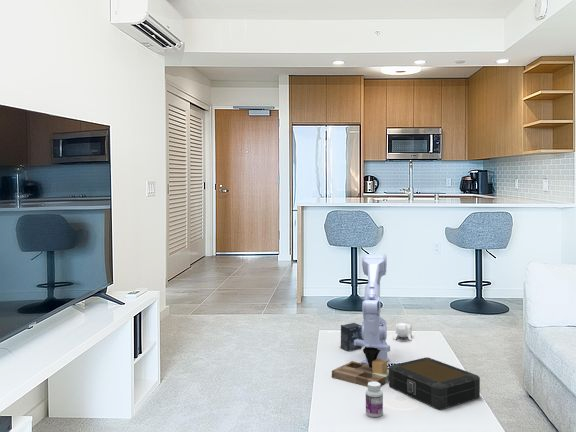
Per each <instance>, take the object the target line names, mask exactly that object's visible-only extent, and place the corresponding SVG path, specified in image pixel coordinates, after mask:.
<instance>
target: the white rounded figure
mask: <svg viewBox="0 0 576 432" xmlns="http://www.w3.org/2000/svg"><path fill="white" fill-rule="evenodd" d="M412 326H413V325H412V324H409V323H407V322H406V323H405V322H400V323H399V322H398V323H396V324H395V332H394V334H393V335H394V336H393V337H392V339H393V340H394V341H396V340H397V338H403V339H404V338H408V341H410V342H412V341H413V340H412V331H413V330H412Z"/></svg>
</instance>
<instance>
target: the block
mask: <svg viewBox="0 0 576 432" xmlns="http://www.w3.org/2000/svg"><path fill="white" fill-rule="evenodd" d="M387 369H388V362H387V361H386V360H382V359H376V360H374V361H372V372H374V373H379V374H383V373H385V372H387Z"/></svg>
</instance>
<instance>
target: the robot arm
mask: <svg viewBox="0 0 576 432" xmlns="http://www.w3.org/2000/svg"><path fill="white" fill-rule="evenodd" d="M361 268H362V272H363V275H365V276H367V281H368V283H367V284H366V285H365V287H364V299H363V300H362V302H361V303H362V304H361V306H362V309H361V310H362V317H363V318H362V319H363V320H362V321H361V323H362V338H363V339H364V340H359V339H356V340H354V345H359V346H362V347H364V348H363V349H362V352H363V354H364V356H365V358H364V360H362V361H361V362H360V363H362V364H367V365H369V368H372V361H374V360H376V359H382V360H386V361H387V363H388V362H390V358H388V353H389V352H390V351H391V345H388V343H387V337H388V334H387V331H388V330H387V329H388V328H387V321H386V320H385V319H384V318H383V317H381V300H380V299H381V297H380V296H381V279H382V277H383V276H386V275H387V254H385V253H382V254H375V253H369V254H368V253H363V254H362V255H361Z"/></svg>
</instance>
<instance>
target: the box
mask: <svg viewBox="0 0 576 432" xmlns="http://www.w3.org/2000/svg"><path fill="white" fill-rule="evenodd" d="M356 339H359V340H362V325H361V324H360V323H359V324H358V323H356V322H351V323H346V324H341V325H340V349H341V350H344V351H346V352H351V351H355V350H359V349H360V350H361V349H362V348H363V346H359V345H354V340H356Z"/></svg>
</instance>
